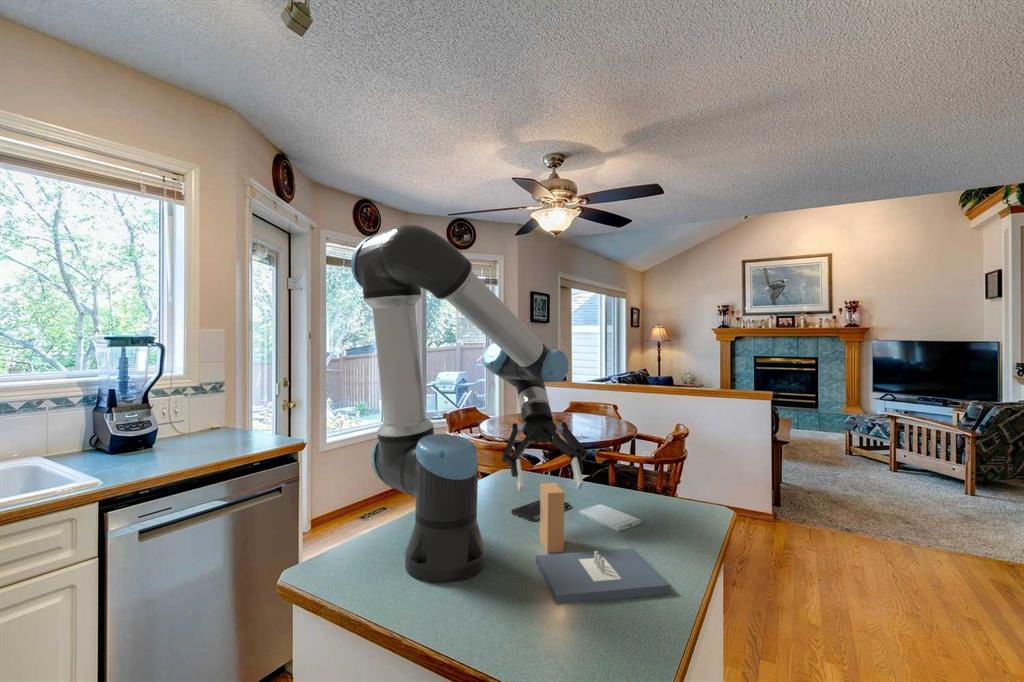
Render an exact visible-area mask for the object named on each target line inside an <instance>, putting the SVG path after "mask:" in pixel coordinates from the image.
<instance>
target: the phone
mask: <svg viewBox="0 0 1024 682" xmlns="http://www.w3.org/2000/svg"><path fill="white" fill-rule="evenodd" d="M568 507H570V508H571V504H570V503H569V502H566V501H564V509H566V508H568ZM510 513H512V514H513V515H512V514H511V515H512V516H515V517H517V516H519V517H521V518H520V519H522V518H523V520H525V519H526V520H525V521H527V520H528V521H527V522H530V521H535V522H537V521H536V520H538V521H540V520H539V519H540V499H539V500H536V501H534V502H530V503H527V504H524V505H522V506H518V507H515V508H513V509H511V511H510Z"/></svg>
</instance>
